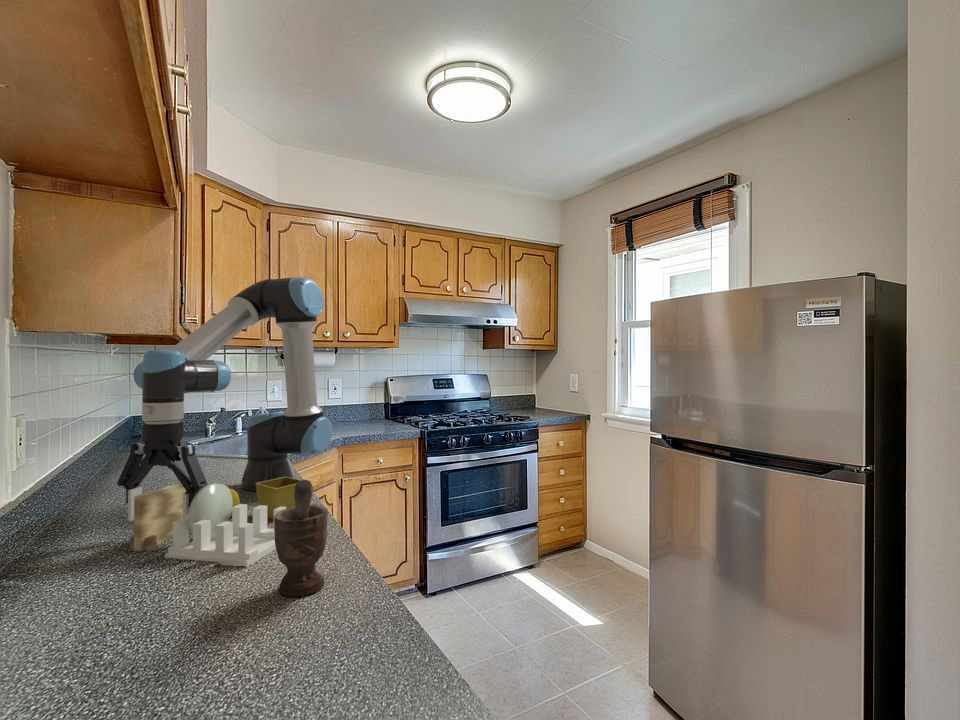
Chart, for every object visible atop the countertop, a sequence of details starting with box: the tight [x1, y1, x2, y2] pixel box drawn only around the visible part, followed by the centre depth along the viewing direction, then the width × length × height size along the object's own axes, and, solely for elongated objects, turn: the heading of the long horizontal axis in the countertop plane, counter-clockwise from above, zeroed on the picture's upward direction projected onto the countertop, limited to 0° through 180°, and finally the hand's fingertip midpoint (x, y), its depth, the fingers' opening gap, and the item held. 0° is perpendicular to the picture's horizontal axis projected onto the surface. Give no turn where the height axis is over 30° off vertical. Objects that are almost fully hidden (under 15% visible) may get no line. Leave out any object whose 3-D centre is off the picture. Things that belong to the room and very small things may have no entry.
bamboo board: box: [133, 482, 186, 552], centre depth 102 cm, size 12×2×11 cm, turn 170°
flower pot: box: [255, 477, 302, 520], centre depth 119 cm, size 9×9×9 cm
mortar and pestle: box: [273, 479, 329, 597], centre depth 80 cm, size 12×9×20 cm
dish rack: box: [164, 503, 286, 568], centre depth 99 cm, size 15×18×7 cm
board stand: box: [130, 528, 192, 552], centre depth 102 cm, size 11×4×3 cm, turn 170°
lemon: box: [228, 487, 241, 518], centre depth 117 cm, size 6×6×8 cm
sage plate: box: [188, 482, 233, 538], centre depth 100 cm, size 11×1×11 cm, turn 170°
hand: (161, 521), depth 102 cm, fingers open, 13 cm apart
